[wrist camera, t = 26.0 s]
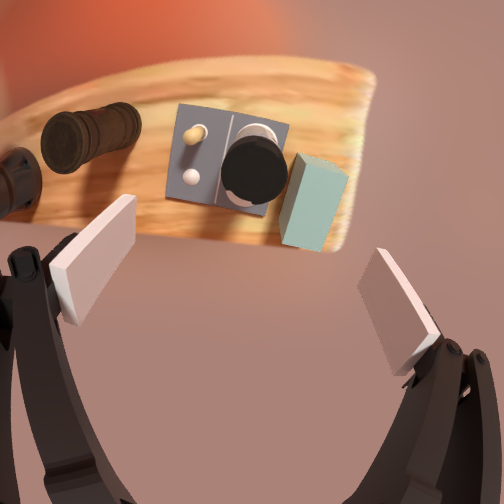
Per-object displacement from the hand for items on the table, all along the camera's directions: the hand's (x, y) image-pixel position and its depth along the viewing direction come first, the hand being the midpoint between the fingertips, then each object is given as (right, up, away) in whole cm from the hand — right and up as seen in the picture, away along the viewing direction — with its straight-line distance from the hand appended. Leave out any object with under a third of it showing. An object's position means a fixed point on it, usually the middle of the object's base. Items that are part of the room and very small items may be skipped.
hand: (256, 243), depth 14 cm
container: (-24, +23, +28) cm, 43 cm away
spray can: (0, +17, +29) cm, 34 cm away
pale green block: (+9, +10, +34) cm, 37 cm away
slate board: (-5, +15, +31) cm, 35 cm away
